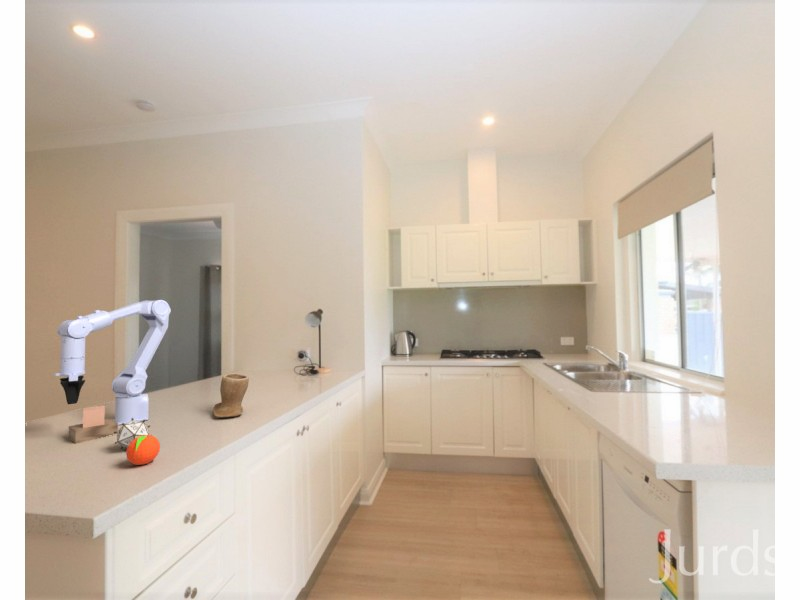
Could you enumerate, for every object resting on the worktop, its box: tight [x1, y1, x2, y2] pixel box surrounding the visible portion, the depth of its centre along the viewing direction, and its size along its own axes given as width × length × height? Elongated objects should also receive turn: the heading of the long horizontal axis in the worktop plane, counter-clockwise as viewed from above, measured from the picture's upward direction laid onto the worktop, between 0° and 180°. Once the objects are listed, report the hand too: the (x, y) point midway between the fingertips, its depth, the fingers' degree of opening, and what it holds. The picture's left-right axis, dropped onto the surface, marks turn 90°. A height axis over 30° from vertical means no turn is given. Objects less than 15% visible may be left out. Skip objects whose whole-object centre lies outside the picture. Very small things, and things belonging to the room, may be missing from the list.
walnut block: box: [68, 418, 119, 445], centre depth 111 cm, size 10×8×4 cm
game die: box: [113, 418, 153, 450], centre depth 100 cm, size 9×8×10 cm
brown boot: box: [213, 372, 250, 418], centre depth 135 cm, size 15×12×15 cm
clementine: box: [126, 434, 161, 466], centre depth 90 cm, size 8×7×7 cm
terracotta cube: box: [82, 405, 106, 428], centre depth 111 cm, size 5×5×5 cm
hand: (71, 401), depth 113 cm, fingers open, 7 cm apart
